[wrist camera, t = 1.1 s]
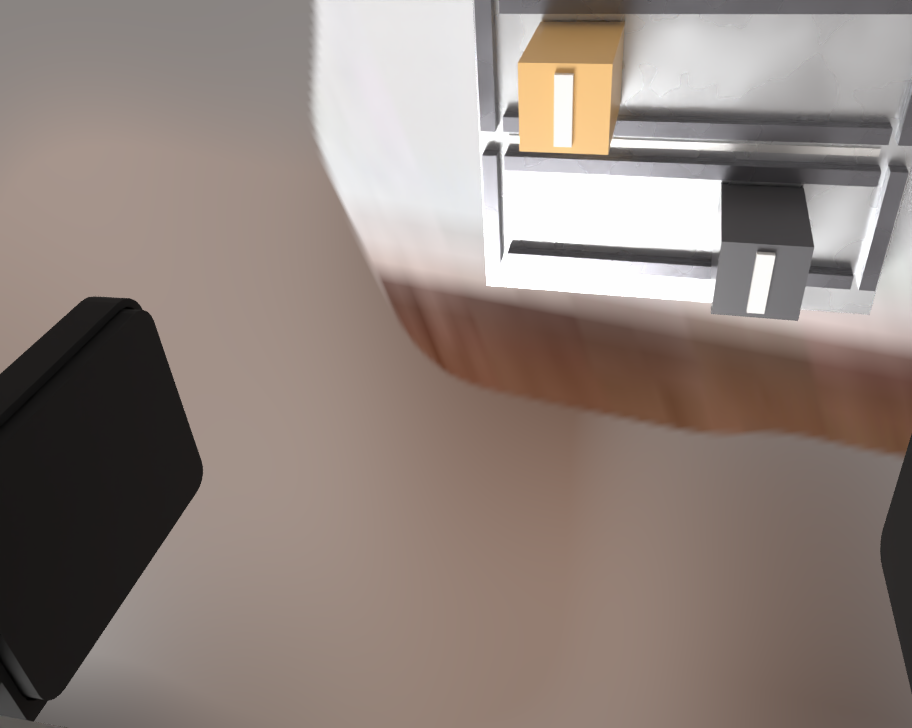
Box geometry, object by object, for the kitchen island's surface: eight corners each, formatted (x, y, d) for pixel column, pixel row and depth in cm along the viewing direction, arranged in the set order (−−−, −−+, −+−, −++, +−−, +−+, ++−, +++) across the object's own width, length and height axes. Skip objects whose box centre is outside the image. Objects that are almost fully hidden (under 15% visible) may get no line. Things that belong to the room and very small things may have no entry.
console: (482, -66, 31) (466, -51, 29) (962, -76, 27) (982, -59, 25) (495, 262, 39) (483, 292, 37) (863, 288, 36) (871, 323, 34)
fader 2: (721, 184, 32) (721, 244, 29) (803, 187, 32) (814, 250, 28) (711, 252, 34) (710, 316, 30) (789, 256, 33) (798, 323, 30)
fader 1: (540, 21, 30) (516, 64, 27) (625, 21, 29) (611, 66, 26) (540, 103, 32) (518, 153, 28) (620, 105, 31) (607, 157, 28)
